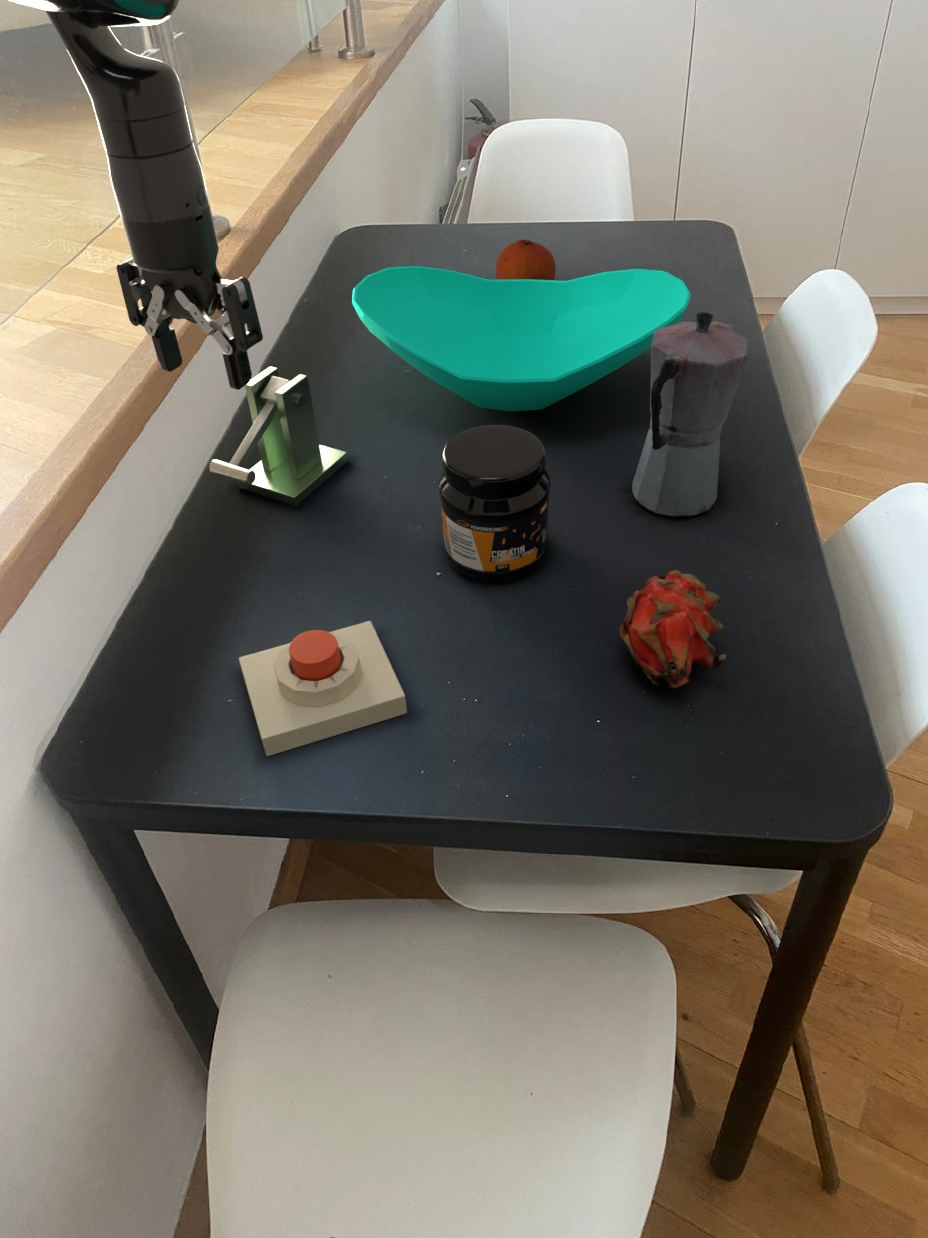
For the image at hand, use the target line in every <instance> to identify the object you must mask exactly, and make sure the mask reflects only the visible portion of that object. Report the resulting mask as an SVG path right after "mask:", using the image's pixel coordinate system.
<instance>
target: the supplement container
mask: <svg viewBox="0 0 928 1238" xmlns="http://www.w3.org/2000/svg"><path fill="white" fill-rule="evenodd" d="M546 455H547V454H546V447H545V445H544V443H543V442H542V440H541V439H540V438H539V437H538V436H537V435H535V434H534V433H532V432H530V431H528V430H526V429H523V428H520V427H517V426H513V425H508V424H507V425H505V424H486V425H479V426H474V427H471V428H467V429H464V430H463V431H461V432H459V433H457V434H455V435H454V436H452V437H451V438H450V439H449V440H448V441H447V442H446V444H445V445H444V446H443V449H442V451H441V458H442V459H441V460H442V473H441V475H440V477H439V481H438V493H439V497H440V504H441V505H440V506H441V518H442V519H441V520H442V533H443V540H442V543H443V544H442V545H443V552H444V555H445V558H446V559H447V561H448V562H449V564H450V565H451V566H452V567H453V568H454V569H455V570H456V571H458V572H459V573H461V574H463V575H464V576H467V577H469V578H471V579H475V580H480V581H487V582H505V581H510V580H515V579H517V578H521V577H523V576H525V575H527V574H530V573H531V572H532V571H534V570H535V569H536V568H538V566H540V564H541V563H542V562H543V561H544V559H545V557H546V555H547V552H548V548H549V536H548V533H549V532H548V530H549V497H550V492H551V479H550V475H549V473H548V471H547V470H546Z"/></svg>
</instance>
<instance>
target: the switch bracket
mask: <svg viewBox="0 0 928 1238" xmlns="http://www.w3.org/2000/svg"><path fill="white" fill-rule="evenodd" d="M272 376H275V377H279V378H280V375H279V369H278V368H277V367H274V366H268V367H267V368H266V369H264V370H263V371H261V372H260V373H258V374H257V375H256V376H254V377H252V378H251V379H250V381H249V383H248V384H247V385H245V386H244V389H245V393H246V398H247V402H248V407H249V411H250V416H251V420H252V425H253V424H254V422H255V420H256V419H257V417H258V416H259V414H260V412H261V411H262V409H263V407H264V406H265V403H264V402H263V400H262V399H261V397H260V396H261V394H262V392H263V391H264V389H265V387H266V386H267V384H268V383H269V381H270V379H271V378H272ZM289 381H290V382H288V383H287V384H286V385H284V386H283V387H282V388H280V389H279V390H277V391H276V392H275V395H276V401H277V406H278V411H279V413H278V412H277V413H276V415H275V416H274V418H273V419H272V421H271V423H270V424H269V426H268V428H267V429H266V431H265V433H264V434H263V436H262V438H261V439H260V441H259V443H258V444H257V449H258V452H259V457H260V461H258V462H257V463H256V464H255V465H253V466H252V467H251V468H249V470H252V471H254V472H255V474H256V478H255V481H254V482H253V483H252V484H247V483H244V482H240V481H237V485H238V488H239V489H241V490H244V491H247V492H250V493H253V494H256V495H258V496H262V497H266V498H269V499H272V500H276V501H279V502H281V503H284V504H288V505H291V506H294V507H298V506H299V505H300V504H301V503H302V502H303V501H305V500H306V499H307V498H308V497H309V496H310V495H311V494H313V492H314V491H316V490H317V489H318V488H319V487H320V486H321V485H322V484H323V483H325V482H326V481H327V480H328V479H329V478H331V476H333V475H334V474H335V473H337V472H338V471H339V470H340V469H341V468H342V467H343V466H345V464H347V462H348V461H349V457H348V452H347V451H343V450H340V449H337V448H333V447H330V446H326V445H322V444H320V443H319V437H318V430H317V425H316V418H315V413H314V407H313V401H312V396H311V395H312V394H311V388H310V383H309V377H308V375H305V374H302V373H299V374H297V376H295V377H294V378H293V379H291V380H289Z"/></svg>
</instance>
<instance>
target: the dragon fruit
mask: <svg viewBox="0 0 928 1238" xmlns="http://www.w3.org/2000/svg"><path fill="white" fill-rule="evenodd" d="M721 602H722V599H721V598H720V596H719V595H718V594H717V593H716V592H715V591H710V590H707V584H706V583H705V582H704V581H702V580H699V579H698V577H697V576H695V575H694V574H692V573H683V572H682V571H681V570H680V569H674V570H671V571H669V572H667V574H666V575H665V576H664V575H654V576H651V577H649V578H648V579H647V580H646V586H645V587H643V588H642V589H640V590H637V589H635V590H634V592H633V595H631V596H629V597H628V598H627V599H626V605H627V610H626V614H625V617H624V620H623V622H622V623H621V625H620V626H619V635H620V637H621V639H622V640H623V641H624V643H625V645H626V646H627V648H628V651H629V653H630V654H631V657H632V658H633V660H634V662H635V663H634V664H636V665H637V666H640V667H641V668H642V672H643V674H644V675H646V677H647V678H648V679H649V680H650V681H651V683H652V684H653V685H654V686H657V687H660V684H659V679H663V680H665V681H666V682H667V685H668V686H669V687H670V688H672V689H677V688H679V687H681V686H683V685H686V684H688V683H690V682H691V680H690V679H689V676H690V674H691V671H692V664H696V665H699V666H701V667H702V668H703V669H706V670H707V669H716V668H720V667H721V666H722V665H723V664H724V662H726V659H727V653H721V654H720V655H716V651H717V650H716V647H715V646H714V645H713V644H712V643H711V642H710V641H709V640H708V639H709V637H710V636H712V635H714V634H716V633H718V632H720V631H723V630H724V625H723V624H722V623H721V622H720V619H718V618H716V617H713V616H712V615H710V613H711V612H712V611H713V610H714V609H715V608H716V607H718V605H719V604H720V603H721Z"/></svg>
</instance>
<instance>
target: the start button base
mask: <svg viewBox="0 0 928 1238" xmlns="http://www.w3.org/2000/svg"><path fill="white" fill-rule="evenodd" d="M328 632H329V633H331V634H333V635H334V636H335V638H336V639H337V642H338V647H339V652H340V658H341V664H340V667H339V669H338V670H337V671H336V672H335V673H334V674H333V675H332V676H330V677H328V678H326V679H323V680H318V681H309V680H304V679H302V678H300V677H299V676H297V675H296V674H295V672H294V670H293V666H292V662H291V658H290V653H289V647H290V644H291V642H292V641H290V642H289V643H286V644H282V645H278V646H275V647H271V648H268V649H264V650H260V651H258V652H254V653H249V654H247V655H243V656H240V657H238V661H239V666H240V669H241V672H242V676H243V680H244V683H245V687H246V690H247V693H248V698H249V700H250V704H251V707H252V710H253V715H254V718H255V721H256V724H257V728H258V732H259V734H260V739H261V742H262V747H263V749H264V753H265V756H266V757H270V756H273V755H276V754H280V753H283V752H286V751H290V750H293V749H296V748H299V747H302V746H306V745H309V744H312V743H315V742H316V743H317V742H319V741H321V740H325V739H329V738H331V737H334V736H338V735H342V734H344V733H348V732H351V731H353V730H358V729H360V728H361V729H362V728H364V727H367V726H370V725H373V724H377V723H380V722H383V721H386V720H390V719H393V718H396V717H400V716H403V715H406V714H407V713H408V708H407V700H406V694H405V692H404V690H403V688H402V686H401V684H400V681H399V679H398V677H397V675H396V672H395V670H394V668H393V666H392V664H391V662H390V659H389V657H388V655H387V653H386V651H385V649H384V646H383V645H382V642H381V639H380V638H379V635H378V633H377V631H376V629H375V626H374V625H373V622H372V621H371V620H368V621H364V622H361V623H357V624H354V625H349V626H346V627H343V628H339V629H336V630H333V631H328Z"/></svg>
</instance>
